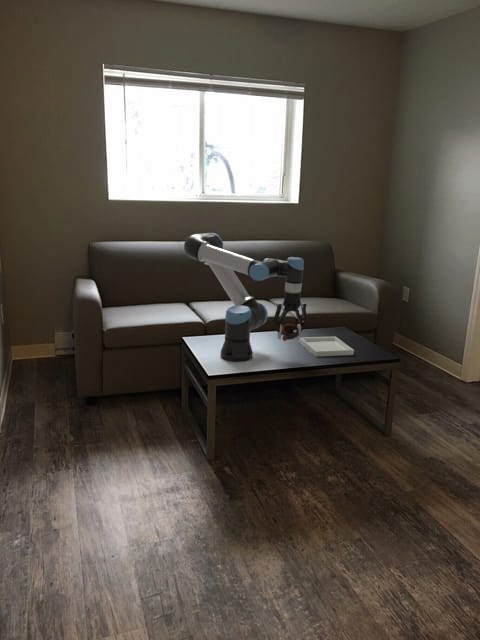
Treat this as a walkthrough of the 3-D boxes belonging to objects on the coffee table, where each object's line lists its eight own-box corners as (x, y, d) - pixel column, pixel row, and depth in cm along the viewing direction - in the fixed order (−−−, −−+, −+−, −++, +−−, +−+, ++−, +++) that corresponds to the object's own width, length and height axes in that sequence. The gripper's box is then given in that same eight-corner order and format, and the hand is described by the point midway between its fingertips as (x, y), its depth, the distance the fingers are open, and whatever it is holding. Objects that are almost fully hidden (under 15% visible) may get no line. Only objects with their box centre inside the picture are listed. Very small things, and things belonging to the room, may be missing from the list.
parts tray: (315, 356, 247) (315, 351, 246) (299, 342, 267) (299, 337, 266) (353, 354, 252) (354, 350, 251) (334, 340, 272) (335, 336, 271)
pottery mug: (301, 338, 244) (303, 327, 238) (291, 351, 238) (293, 339, 232) (280, 327, 248) (281, 316, 242) (269, 339, 243) (271, 328, 237)
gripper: (273, 293, 228) (269, 341, 234) (317, 293, 234) (313, 340, 240) (268, 289, 235) (264, 336, 241) (311, 289, 241) (307, 335, 247)
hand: (288, 338), depth 241 cm, fingers closed on pottery mug, 9 cm apart
